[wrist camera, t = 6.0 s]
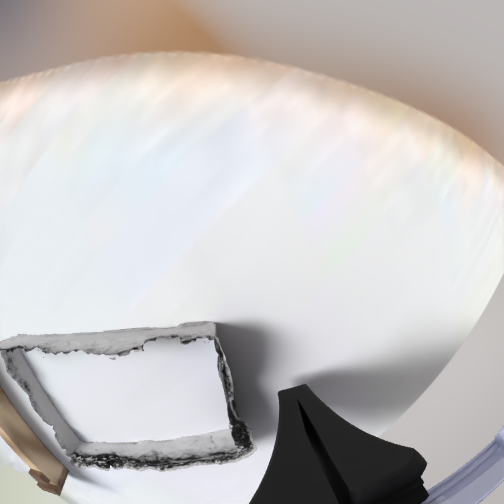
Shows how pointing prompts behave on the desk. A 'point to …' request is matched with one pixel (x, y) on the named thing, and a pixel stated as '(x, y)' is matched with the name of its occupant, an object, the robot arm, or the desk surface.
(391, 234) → the desk surface
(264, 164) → the desk surface
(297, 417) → the robot arm
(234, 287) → the desk surface
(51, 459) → the ledge
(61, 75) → the desk surface
